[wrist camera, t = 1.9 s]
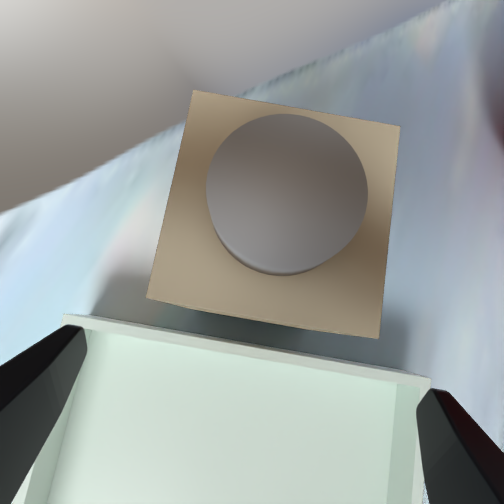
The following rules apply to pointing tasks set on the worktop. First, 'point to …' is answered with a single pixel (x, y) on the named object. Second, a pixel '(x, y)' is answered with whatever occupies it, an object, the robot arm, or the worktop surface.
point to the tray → (226, 425)
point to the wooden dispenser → (278, 216)
